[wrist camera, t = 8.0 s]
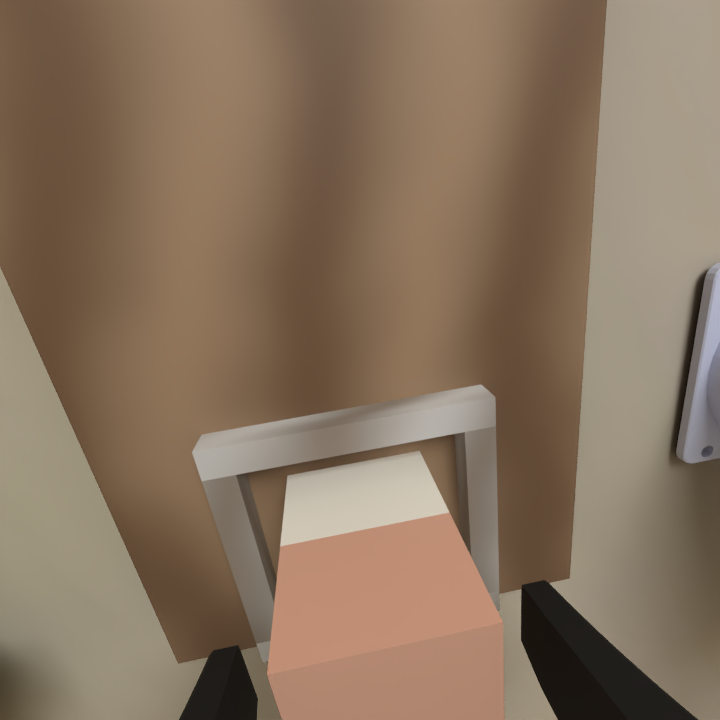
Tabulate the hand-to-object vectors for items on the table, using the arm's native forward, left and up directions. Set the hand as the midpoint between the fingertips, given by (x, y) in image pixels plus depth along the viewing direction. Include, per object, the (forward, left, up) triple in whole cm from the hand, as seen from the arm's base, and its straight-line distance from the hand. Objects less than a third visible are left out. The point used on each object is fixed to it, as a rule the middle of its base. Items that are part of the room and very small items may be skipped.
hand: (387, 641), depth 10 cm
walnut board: (0, -7, -5) cm, 9 cm away
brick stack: (0, 0, -4) cm, 4 cm away
